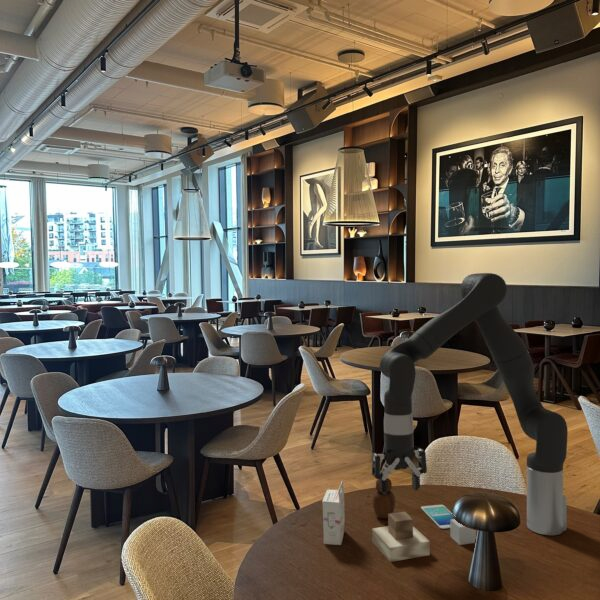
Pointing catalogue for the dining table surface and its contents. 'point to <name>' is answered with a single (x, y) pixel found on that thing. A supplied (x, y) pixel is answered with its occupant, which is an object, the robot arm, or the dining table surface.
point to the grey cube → (461, 533)
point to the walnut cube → (400, 525)
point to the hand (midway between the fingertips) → (399, 491)
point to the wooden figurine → (383, 500)
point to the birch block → (400, 544)
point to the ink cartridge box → (333, 516)
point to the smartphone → (439, 515)
